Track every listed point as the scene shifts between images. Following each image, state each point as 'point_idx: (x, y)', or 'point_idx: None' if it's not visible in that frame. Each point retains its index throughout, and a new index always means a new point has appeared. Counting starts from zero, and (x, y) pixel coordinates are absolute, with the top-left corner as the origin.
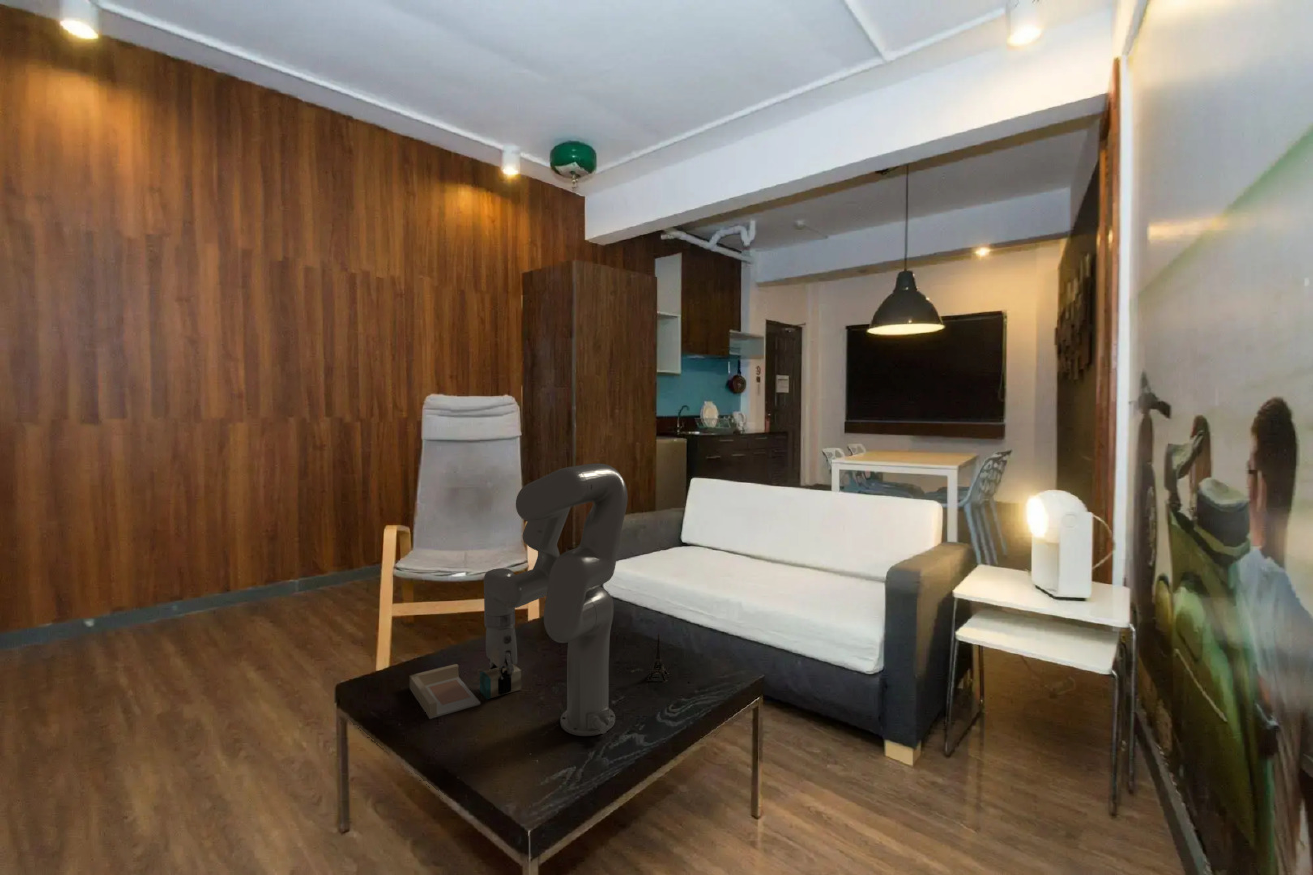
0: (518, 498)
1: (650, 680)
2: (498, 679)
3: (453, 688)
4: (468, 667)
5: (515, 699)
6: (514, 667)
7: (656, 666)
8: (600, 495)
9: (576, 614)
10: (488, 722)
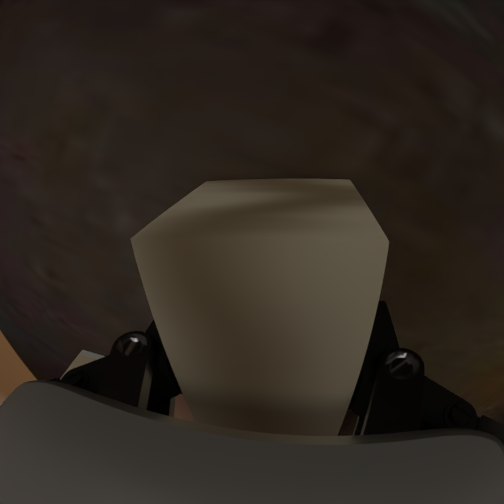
0: None
1: None
2: (350, 405)
3: (176, 404)
4: (29, 293)
5: (427, 258)
6: (249, 272)
7: None
8: None
9: None
10: (467, 384)
